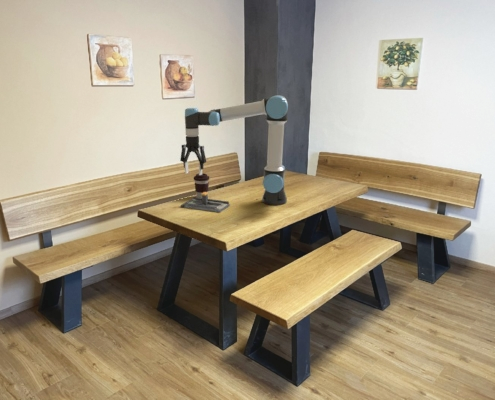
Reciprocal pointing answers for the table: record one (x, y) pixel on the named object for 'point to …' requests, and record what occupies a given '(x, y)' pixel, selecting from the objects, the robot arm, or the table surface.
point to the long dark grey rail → (213, 200)
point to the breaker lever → (205, 198)
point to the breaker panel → (209, 207)
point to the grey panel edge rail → (186, 203)
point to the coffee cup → (201, 184)
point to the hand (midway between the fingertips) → (193, 173)
